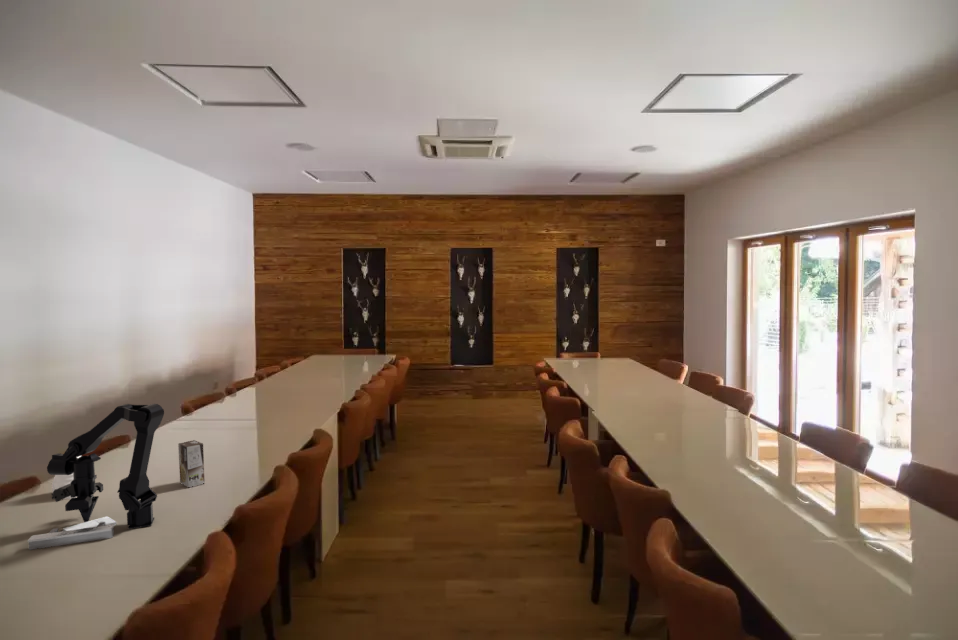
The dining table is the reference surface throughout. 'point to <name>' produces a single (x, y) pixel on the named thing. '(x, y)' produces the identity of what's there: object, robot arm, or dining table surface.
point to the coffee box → (191, 463)
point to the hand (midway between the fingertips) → (86, 521)
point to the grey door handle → (71, 536)
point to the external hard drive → (91, 523)
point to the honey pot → (62, 482)
